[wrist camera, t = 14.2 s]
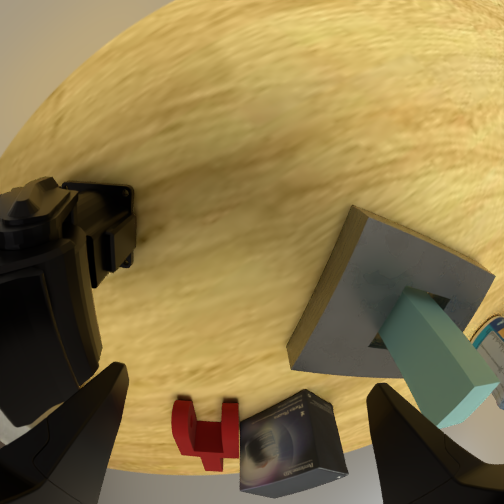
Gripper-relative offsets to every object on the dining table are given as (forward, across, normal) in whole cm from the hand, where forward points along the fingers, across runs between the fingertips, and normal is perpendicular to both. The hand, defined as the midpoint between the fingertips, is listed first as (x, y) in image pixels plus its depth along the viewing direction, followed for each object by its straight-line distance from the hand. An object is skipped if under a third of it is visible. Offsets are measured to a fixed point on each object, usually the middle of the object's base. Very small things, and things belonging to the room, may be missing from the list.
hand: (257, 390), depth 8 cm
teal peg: (+13, -15, +4) cm, 20 cm away
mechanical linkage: (+13, +1, +27) cm, 30 cm away
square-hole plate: (+13, -15, +4) cm, 20 cm away
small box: (+13, -8, +22) cm, 27 cm away
